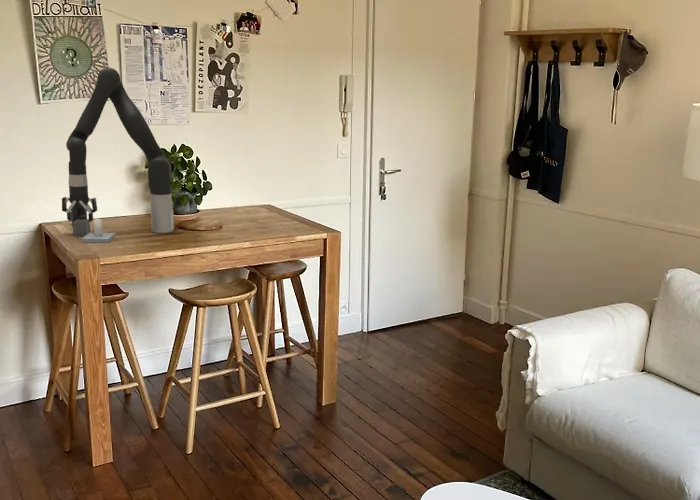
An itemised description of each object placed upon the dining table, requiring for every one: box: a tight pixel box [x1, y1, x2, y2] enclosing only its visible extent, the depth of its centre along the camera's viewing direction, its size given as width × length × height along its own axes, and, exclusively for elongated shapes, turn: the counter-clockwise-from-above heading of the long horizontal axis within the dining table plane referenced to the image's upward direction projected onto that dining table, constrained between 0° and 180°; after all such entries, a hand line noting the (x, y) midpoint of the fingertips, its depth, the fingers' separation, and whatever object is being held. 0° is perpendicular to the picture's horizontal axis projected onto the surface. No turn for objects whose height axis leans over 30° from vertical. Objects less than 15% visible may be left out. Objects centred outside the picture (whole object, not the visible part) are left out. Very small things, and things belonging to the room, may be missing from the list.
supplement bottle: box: [71, 207, 88, 226], centre depth 325 cm, size 7×7×12 cm
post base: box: [80, 218, 116, 244], centre depth 299 cm, size 11×11×8 cm
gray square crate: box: [71, 219, 91, 237], centre depth 307 cm, size 6×6×6 cm
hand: (80, 221), depth 306 cm, fingers open, 8 cm apart
